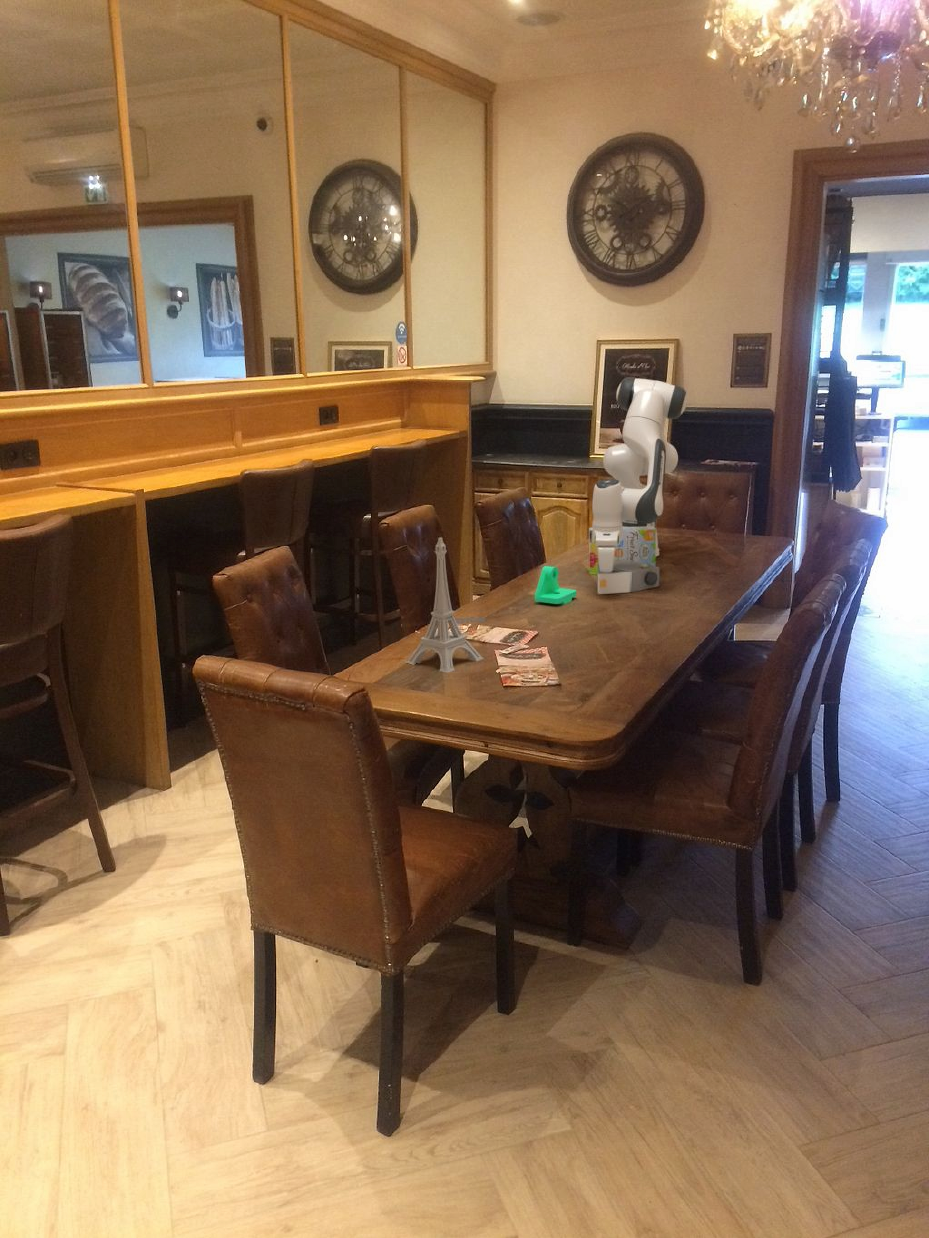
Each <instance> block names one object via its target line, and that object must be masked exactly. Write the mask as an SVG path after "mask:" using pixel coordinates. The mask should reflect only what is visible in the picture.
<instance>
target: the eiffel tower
mask: <svg viewBox="0 0 929 1238" xmlns="http://www.w3.org/2000/svg"><path fill="white" fill-rule="evenodd" d="M446 547H447V546H446V544H445V543H444V541H443V537H438V538H437V543H436V545H435V550H434V553H435V555H436V580H435V581H436V582H435V595H434V604H433V611H431V612H430V615H431V619H430V622H429V625H428V628H427V630H426V633H425V635H424V636H423V637H420V639H419V640H420V643H419V644H418V646H417V647H416V648H415V650H414V651H413V653H412V654H411V655H409V658H408V659H407V660H406V661H405V662H404V664H406V663H409V664H408V665H410V664H412V665H411V666H415V665H414V664H416V663H418V664H420V663H422V661H421V658H422V657H423V655H424V654H425V653H426V652H427V651H428V650H433V651H434V653H436V654H437V655H438V656H439V661H440V668H439V671H438V672H441V673H445V674H450V673H453V672H455V671H456V669H455V668H454V664H453V655H454V652H455V651H456V650H457V649H462V650H463V651H464V652H465V653H466V655H467V656H468V658H467V661H471V662H479V661H482V660H484V659H485V658H484V657H482V656H481V654H480V652H478V651H477V650H476V649H475V648H474V647H473V645H472V644H471V643H470V642H469V640H467V638H468V635H466V634H463V633H462V631H461V629H460V627H459V624H458V623H457V619H456V618H455V613H456V611H454V610H453V609H452V608H453V607H452V603H451V598H450V591H449V584H448V577H447V569H446V568H447V567H446V553H447V551H448V550H447V548H446ZM449 629H450V631H449ZM416 665H417V664H416Z"/></svg>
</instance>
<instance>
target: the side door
mask: <svg viewBox="0 0 929 1238" xmlns="http://www.w3.org/2000/svg"><path fill="white" fill-rule="evenodd" d="M631 592H632V572H619V573H603V574H598V583H597V594H598V595H607V594H609V595H610V594H624V593H631Z"/></svg>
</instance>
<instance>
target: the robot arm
mask: <svg viewBox="0 0 929 1238" xmlns="http://www.w3.org/2000/svg"><path fill="white" fill-rule="evenodd" d="M687 396H688V395H687V391H686V389H685V388H684V387H682V386H679V385H677V384H675V385H673V384H671V383H667V382H665V381H660V380H658V379H657V380H654V379H647V378H636V377H634V376H627V377H625V378H624V379H622V380H621V382H620V383H619V385H618V387H617V390H616V404H617V405H618V407H619V408H620V409H622V410H624V411H625V412H627V413H626V417H625V420H624V423H623V427H622V440H623V443H621V444H616V445H614V446H613V445H612V446H609V447H608V448H607V449H606V451H605V452H604V454H603V457H602V462H603V463H602V464H603V468H604V470H605V471H606V472H607V474H608V475H610V476H612V478H606V479H601V480H599V481H597V482H596V483H595V484H594V488H593V493H592V506H591V507H592V511H591V512H592V515H593V520H592V524H591V526H592V527H591V528H592V541H594V542H595V545H596V546H597V550H598V559H599V568H600V571H601V572H604V573H610V572H612V570H613V564H614V556H615V549H616V547H617V546H618V543H619V542H620V541H622V527H653V526H654V527H655V529H656V557H659V556H660V552H659V551H660V548H659V542H658V540H659V539H658V531H657V528H656V527H657V526H658V525H657V523H658V520H659V519H660V517H662V515H663V512H664V506H665V504H664V503H665V501H664V500H665V499H664V489H665V488H664V487H665V474H668V473H671V472H673V471H674V470H675V469H676V467H677V465H678V461H679V455H678V452H677V450H676V448H675V446H674V445H673V444H671V443H670V442H668V441H667V439H666V438H665V425H666V420H675V419H676V420H677V419H678V418H680V417H681V415H682V414H683V413H684V412H685V410H686V408H687V404H688V397H687ZM641 476H647V478H646V479H647V481H646V484H643V483H641V481H640V477H641Z"/></svg>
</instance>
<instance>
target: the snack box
mask: <svg viewBox="0 0 929 1238" xmlns="http://www.w3.org/2000/svg"><path fill="white" fill-rule="evenodd" d="M656 530H657V528H656V529H655V527H654V526H653V527H622V541H620V542H619V543H618V546H617V547H616V549H615V556H614V561H617V560H622V559H625V560H630V561H634V562H638V563H643V564H647V565H651V566H656V558H657V556H656ZM597 564H599V559H598V550H597V546H596V545H595V542H594V541H592V527H589V528H588V572H589V575H590V576H597Z"/></svg>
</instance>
